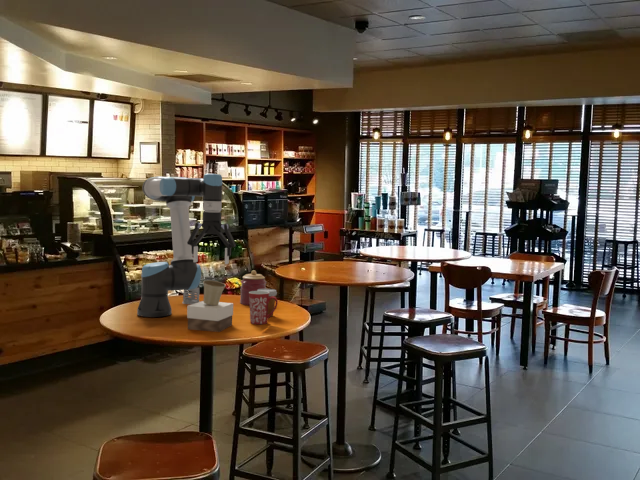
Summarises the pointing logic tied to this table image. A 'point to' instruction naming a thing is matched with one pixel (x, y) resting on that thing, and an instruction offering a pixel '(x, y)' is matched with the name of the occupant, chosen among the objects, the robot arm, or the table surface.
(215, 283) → the flower pot
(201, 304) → the tower top
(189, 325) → the tower base
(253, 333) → the table surface
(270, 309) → the disposable coffee cup
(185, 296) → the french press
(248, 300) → the canister
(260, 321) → the mug
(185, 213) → the robot arm
